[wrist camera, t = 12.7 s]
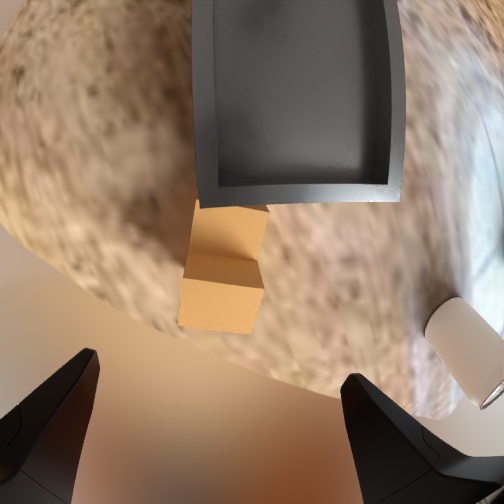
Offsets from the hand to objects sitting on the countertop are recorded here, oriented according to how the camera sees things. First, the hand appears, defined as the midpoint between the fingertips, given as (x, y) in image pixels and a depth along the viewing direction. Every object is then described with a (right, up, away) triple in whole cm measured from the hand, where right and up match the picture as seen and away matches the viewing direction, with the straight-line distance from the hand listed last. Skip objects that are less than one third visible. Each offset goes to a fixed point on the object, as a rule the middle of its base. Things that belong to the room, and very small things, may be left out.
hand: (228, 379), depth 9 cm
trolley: (+2, +15, +6) cm, 16 cm away
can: (+23, -3, +17) cm, 29 cm away
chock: (-1, +5, +10) cm, 12 cm away
